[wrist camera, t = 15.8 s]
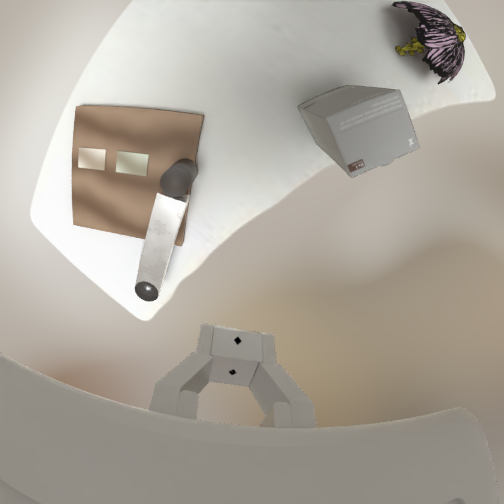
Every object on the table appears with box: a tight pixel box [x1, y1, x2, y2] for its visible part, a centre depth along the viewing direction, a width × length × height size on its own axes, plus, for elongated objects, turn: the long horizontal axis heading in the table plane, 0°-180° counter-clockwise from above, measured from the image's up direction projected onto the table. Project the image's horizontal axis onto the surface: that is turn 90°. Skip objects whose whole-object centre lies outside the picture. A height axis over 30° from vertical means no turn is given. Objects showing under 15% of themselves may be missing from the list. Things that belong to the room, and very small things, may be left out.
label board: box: [72, 106, 204, 246], centre depth 35 cm, size 20×21×8 cm
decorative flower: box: [392, 1, 466, 84], centre depth 23 cm, size 14×12×15 cm
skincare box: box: [298, 85, 419, 178], centre depth 28 cm, size 8×7×16 cm
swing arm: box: [135, 189, 190, 301], centre depth 40 cm, size 18×4×3 cm, turn 157°
